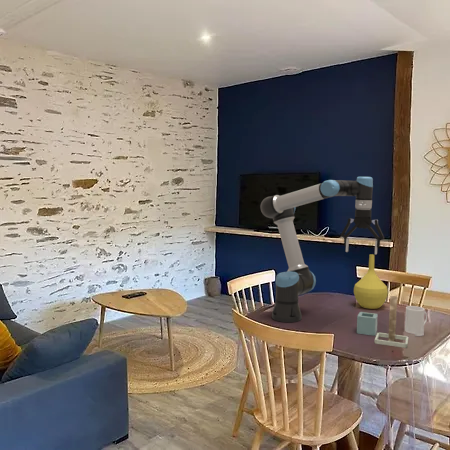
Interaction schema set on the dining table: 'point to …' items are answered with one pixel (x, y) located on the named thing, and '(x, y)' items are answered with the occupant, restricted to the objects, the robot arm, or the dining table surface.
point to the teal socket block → (367, 323)
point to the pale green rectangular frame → (391, 341)
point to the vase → (370, 289)
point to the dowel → (392, 318)
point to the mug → (415, 320)
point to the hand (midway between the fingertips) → (361, 252)
